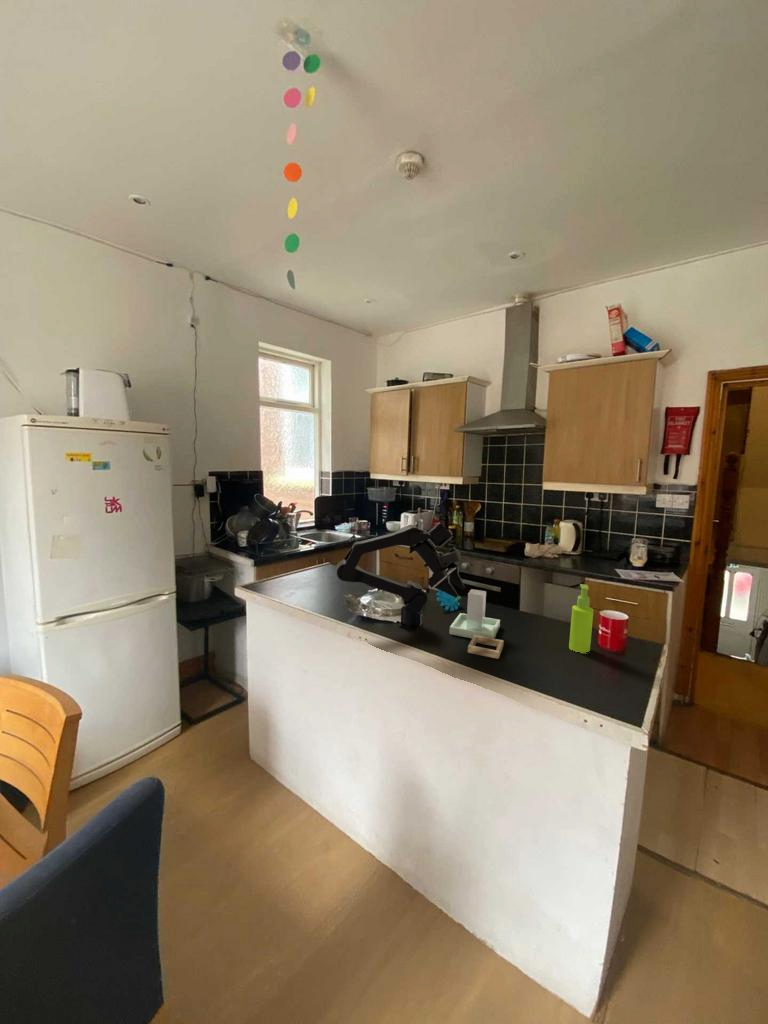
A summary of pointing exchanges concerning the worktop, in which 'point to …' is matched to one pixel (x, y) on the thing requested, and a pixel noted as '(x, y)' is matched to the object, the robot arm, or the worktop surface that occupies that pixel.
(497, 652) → the wooden collar
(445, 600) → the gear
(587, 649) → the soap dispenser
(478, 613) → the stop block
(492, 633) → the tray
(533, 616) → the worktop surface
